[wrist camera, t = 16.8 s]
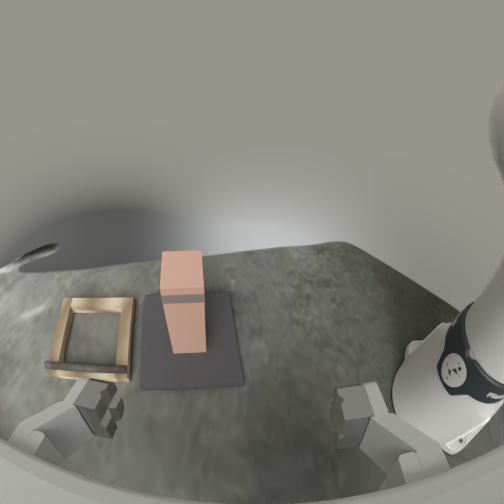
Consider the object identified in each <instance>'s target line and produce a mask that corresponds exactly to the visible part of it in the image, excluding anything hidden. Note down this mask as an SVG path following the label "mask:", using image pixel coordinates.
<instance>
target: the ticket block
mask: <svg viewBox="0 0 504 504" xmlns="http://www.w3.org/2000/svg"><path fill="white" fill-rule="evenodd" d="M160 292H161V300H162V304H163V307H164V312H165V317H166V322H167V326H168V331H169V335H170V340H171V344H172V349H173V353H174V354H175V353H199V352H206V332H205V304H204V302H205V291H204V277H203V263H202V250H197V251H196V250H193V251H165V252H162V266H161V281H160Z"/></svg>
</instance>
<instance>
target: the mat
mask: <svg viewBox="0 0 504 504" xmlns="http://www.w3.org/2000/svg"><path fill="white" fill-rule="evenodd" d="M204 304H205V332H206V352H199V353H175V354H174V353H173V349H172V344H171V340H170V335H169V331H168V326H167V322H166V317H165V312H164V307H163V304H162V300H161V294H158V295H145V301H144V314H143V328H142V347H141V378H140V388H141V389H142V390H177V389H201V388H217V387H229V386H240V385H244V379H243V373H242V367H241V361H240V355H239V349H238V343H237V337H236V331H235V325H234V318H233V312H232V306H231V299H230V293H229V292H210V293H205V302H204Z"/></svg>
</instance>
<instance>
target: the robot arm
mask: <svg viewBox="0 0 504 504" xmlns="http://www.w3.org/2000/svg"><path fill="white" fill-rule="evenodd" d="M489 142H490V147H491V151H492V155H493V159H494V161H495V164H496V167H497V169H498V171H499V173H500V175H501V178H502V181H503V184H504V84H503V86H502V87H501V88H500V89H499V91H498V93H497V94H496V96H495V98H494V101H493V103H492V106H491V110H490V116H489ZM116 391H117V387H116V385H115V383H112V382H108V381H103V380H98V379H93V378H87V377H80V378H78V380H77V381H76V383H75V384H74V386H73V387H72V389H71V390H70V392H69V393H68V395H67V396H66V398H65V399H64V401H63V402H61V401H60V402H58V403H56V404H54V405H52V406H50V407H49V408H47V409H45V410H43V411H41V412H39V413H37V414H35V415H33V416H31V417H30V418H28V419H26V420H24V421H22V422H20V423H19V425H18V426H17V428H16V429H15V431H14V432H13V434H12V435H11V437H10V438H9V440H8V441H5V440H3V439H1V438H0V504H223V503H210V502H200V501H191V500H184V499H177V498H171V497H165V496H159V495H154V494H149V493H144V492H140V491H135V490H131V489H127V488H123V487H119V486H116V485H112V484H108V483H105V482H102V481H98V480H95V479H92V478H89V477H86V476H83V475H80V474H78V473H75V472H72V467H71V466H70V465H69V464H68V462H67V461H66V460H65V459H66V458H67V457H69V456H70V455H71V454H72V453H74V452H75V451H76V450H77V449H79V448H80V447H81V446H83V445H84V444H85V443H86V442H88V441H89V440H90V439H91V438H93V437H94V435H96V436H101V437H106V438H110V439H112V438H113V435H114V433H115V431H116V429H117V424H116V422H117V421H118V420H120V419H121V417H122V415H123V411H124V404H123V400H122V398H121V397H120V396H119V395H118V394H117V393H116ZM333 397H334V401H333V402H331V408H330V417H331V424H332V427H334V428H335V432H334V439H335V444H336V449H345V448H353V447H359V448H360V449H361V450H362V451H363V452H364V453H365V454H366V455H367V456H368V457H369V458H371V459H372V460H373V461H374V462H375V463H376V464H377V465H378V466H379V467H380V468H381V469H382V470H383V471H384V472H385V473H386V474H388V476H387V477H386V478H385V480H384V481H383V483H382V484H381V486H380V487H379V491H377V492H372V493H368V494H363V495H358V496H352V497H346V498H340V499H333V500H325V501H317V502H307V503H294V504H504V444H503V445H501V446H500V447H498V448H496V449H494V450H492V451H490V452H488V453H486V454H484V455H482V456H479V457H477V458H475V459H473V460H471V461H468V462H466V463H464V464H461V465H459V466H457V467H454V468H452V469H450V467H449V464H448V462H447V460H446V457H445V455H444V453H443V451H442V449H443V450H444V451H446V452H447V453H449V454H452V455H453V454H456V453H457V452H459V451H460V450H462V449H463V448H464V447H465V446H466V445H467V443H468V442H469V441H470V440H471V439H472V438H473V437H474V436H475V435H476V434H477V433H478V432H479V431H480V430H481V429H482V428H483V426H484V425H485V424H486V423H487V422H488V421H489V420H490V418H491V417H492V416H493V415H494V414H495V412H496V411H497V410H498V409H499V408H500V406H501V405H502V404H503V402H504V254H503V257H502V259H501V261H500V263H499V265H498V267H497V269H496V271H495V272H494V274H493V276H492V278H491V279H490V281H489V282H488V284H487V285H486V287H485V288H484V290H483V291H482V293H481V294H480V295H479V297H478V298H477V299H476V301H475V302H472V303H471V304H469V305H468V306H467V307H466V308H465V309H464V310H462V311H461V312H460V313H459V315H458V316H457V317H456V318H455V320H454V322H453V323H441V324H440V325H438V326H437V327H436V328H435V329H434V330H433V331H432V332H431V333H430V334H429V335H428V336H427V337H426V338H425V339H424V340H418V341H412V342H410V343H409V344H408V345H407V347H406V351H405V360H404V362H403V364H402V365H401V367H400V368H399V370H398V371H397V373H396V376H395V379H394V382H393V389H392V398H393V405H394V409H395V412H396V415H395V414H394V413H390V414H389V412H388V409H387V407H386V404H385V402H384V399H383V397H382V394H381V392H380V389H379V387H378V384H377V383H376V382H370V383H364V384H356V385H349V386H340V387H335V388H334V391H333ZM459 440H460V442H459Z"/></svg>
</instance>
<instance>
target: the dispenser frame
mask: <svg viewBox="0 0 504 504" xmlns="http://www.w3.org/2000/svg"><path fill="white" fill-rule="evenodd" d="M74 313H121V317H120V325H119V334H118V343H117V354H116V365H98V364H79V363H65V362H64V358H65V353H66V347H67V342H68V337H69V332H70V327H71V323H72V318H73V314H74ZM134 313H135V301H134V298H133V297H129V298H64V300H63V303H62V307H61V310H60V314H59V318H58V322H57V326H56V330H55V334H54V339H53V343H52V348H51V353H50V358H49V361H45V362H44V366H45V368H46V369H47V373H48V374H49V375H50V376H51V377H56V378H65V379H77V380H78V378H80V377H87V378H93V379H98V380H103V381H109V382H130V368H131V349H132V335H133V323H134Z"/></svg>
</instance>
